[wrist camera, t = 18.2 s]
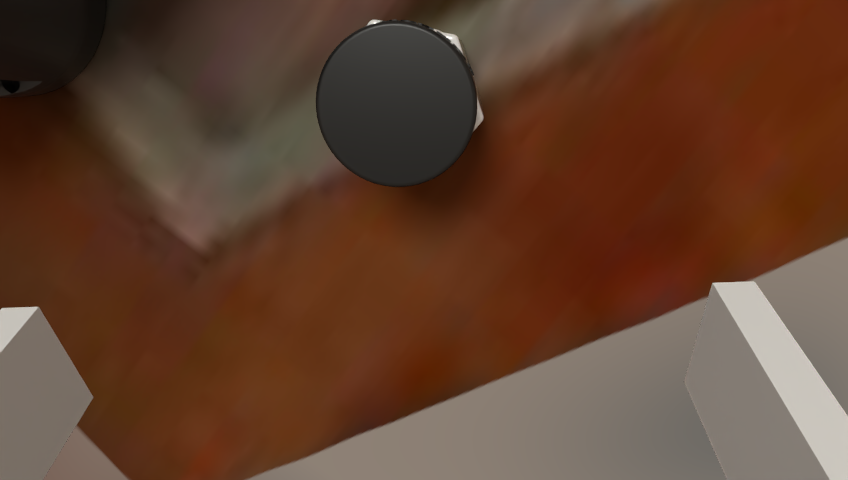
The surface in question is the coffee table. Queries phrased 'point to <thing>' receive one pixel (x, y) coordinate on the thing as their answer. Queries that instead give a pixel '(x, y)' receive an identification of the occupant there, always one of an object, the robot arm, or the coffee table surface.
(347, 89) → the jar
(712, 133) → the coffee table surface
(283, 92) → the coffee table surface
